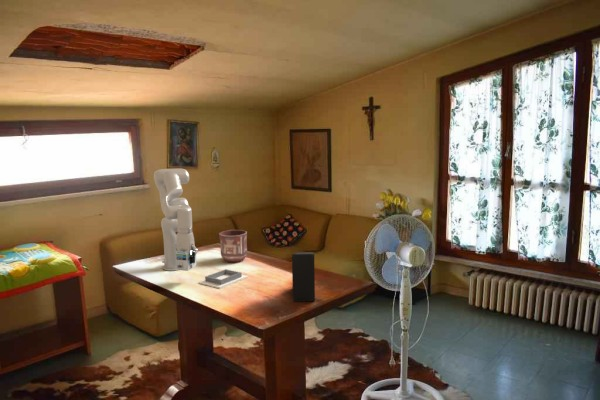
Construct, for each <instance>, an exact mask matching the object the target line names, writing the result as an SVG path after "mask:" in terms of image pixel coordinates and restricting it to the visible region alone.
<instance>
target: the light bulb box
mask: <svg viewBox="0 0 600 400" xmlns="http://www.w3.org/2000/svg"><path fill="white" fill-rule="evenodd" d="M191 253H192V252H191ZM176 256H177V270H176V271H182V272H183V271H186V272H189V271H190V270H192V269H193V268H195V266H197V254H196V255H195V263H192V264H190V254H189V253H188V251H184V250H181V249H179V250H177V251H176Z"/></svg>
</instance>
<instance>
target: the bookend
mask: <svg viewBox="0 0 600 400" xmlns="http://www.w3.org/2000/svg"><path fill="white" fill-rule="evenodd" d="M291 265H292V266H291V270H292V271H291V272H292V276H291V278H292V302H315V301H316V294H315V293H316V290H315V289H316V286H315V277H316V276H315V253H314V252H313V251H312V252H307V251H306V252H304V251H303V252H295V253H291Z"/></svg>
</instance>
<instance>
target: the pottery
mask: <svg viewBox="0 0 600 400" xmlns="http://www.w3.org/2000/svg"><path fill="white" fill-rule="evenodd" d="M218 235H219V243H220V245H219V246H220V256H221V258H222V259H223V261H225V262H226V263H231V264H232V263H233V264H235V263H240V262H242V261H244V260H245V258H247V255H248V244H247V243H248V241H247V239H248V231H246V230H243V229H229V230H228V229H227V230H223V231H221V232H219V233H218Z"/></svg>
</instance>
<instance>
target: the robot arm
mask: <svg viewBox="0 0 600 400" xmlns="http://www.w3.org/2000/svg"><path fill="white" fill-rule="evenodd" d="M153 181H154V184H155V186H156V188H157V190H158V194H159V200H160V201H159V202H160V206H161V212H162V213H163V215H164V216H165V217H163V218H162V219H161V221H160V226H161V231H162V236H163V237H162V238H163V250H164V251H163V252H164V254H163V255H164V259H163V260H162V261H161V263H162V264H163V266H162V270H163V271H178V270H177V256H176V251H177V250H179V249H181V250H184V251H188V253H189V254H190V264H192V263H195V255H196V256H197V253H198V251H199V249H198V248H197V247H196V246H195V236H194V232H193V212H192V211H193V210H192V207H191V206H190V205H189V201H188V200H187V198H186V197H181V196H182V194H183V191H184V190H183V186H182V185H183V184H188V183H189V181H190V174H189V172H188V171H187V169H184V168H181V167H180V168H161V169H157V170H156V171H154V173H153ZM191 252H192V253H191Z"/></svg>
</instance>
